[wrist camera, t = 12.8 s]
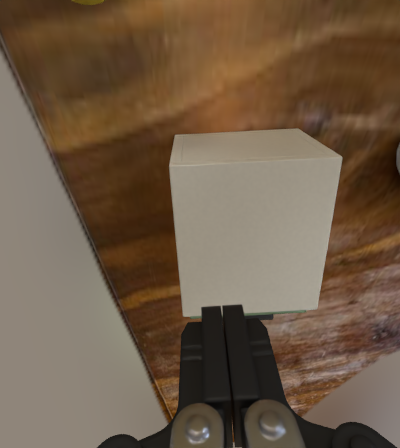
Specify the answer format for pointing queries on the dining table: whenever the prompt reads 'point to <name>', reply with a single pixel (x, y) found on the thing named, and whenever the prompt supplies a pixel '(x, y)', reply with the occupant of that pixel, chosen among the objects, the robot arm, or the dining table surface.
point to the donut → (398, 158)
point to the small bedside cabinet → (252, 218)
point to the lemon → (88, 2)
